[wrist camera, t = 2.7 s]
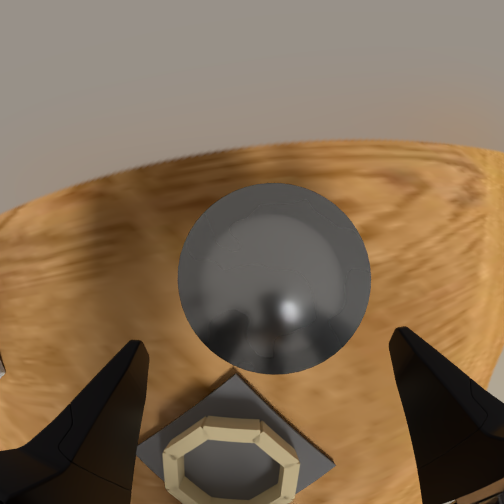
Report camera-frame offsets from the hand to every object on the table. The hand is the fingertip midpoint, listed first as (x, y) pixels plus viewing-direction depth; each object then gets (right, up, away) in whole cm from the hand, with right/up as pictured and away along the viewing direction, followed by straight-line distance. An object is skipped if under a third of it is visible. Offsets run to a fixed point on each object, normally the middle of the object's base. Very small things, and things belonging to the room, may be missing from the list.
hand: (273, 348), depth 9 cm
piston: (0, 0, +10) cm, 10 cm away
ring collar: (-2, -13, +7) cm, 14 cm away
